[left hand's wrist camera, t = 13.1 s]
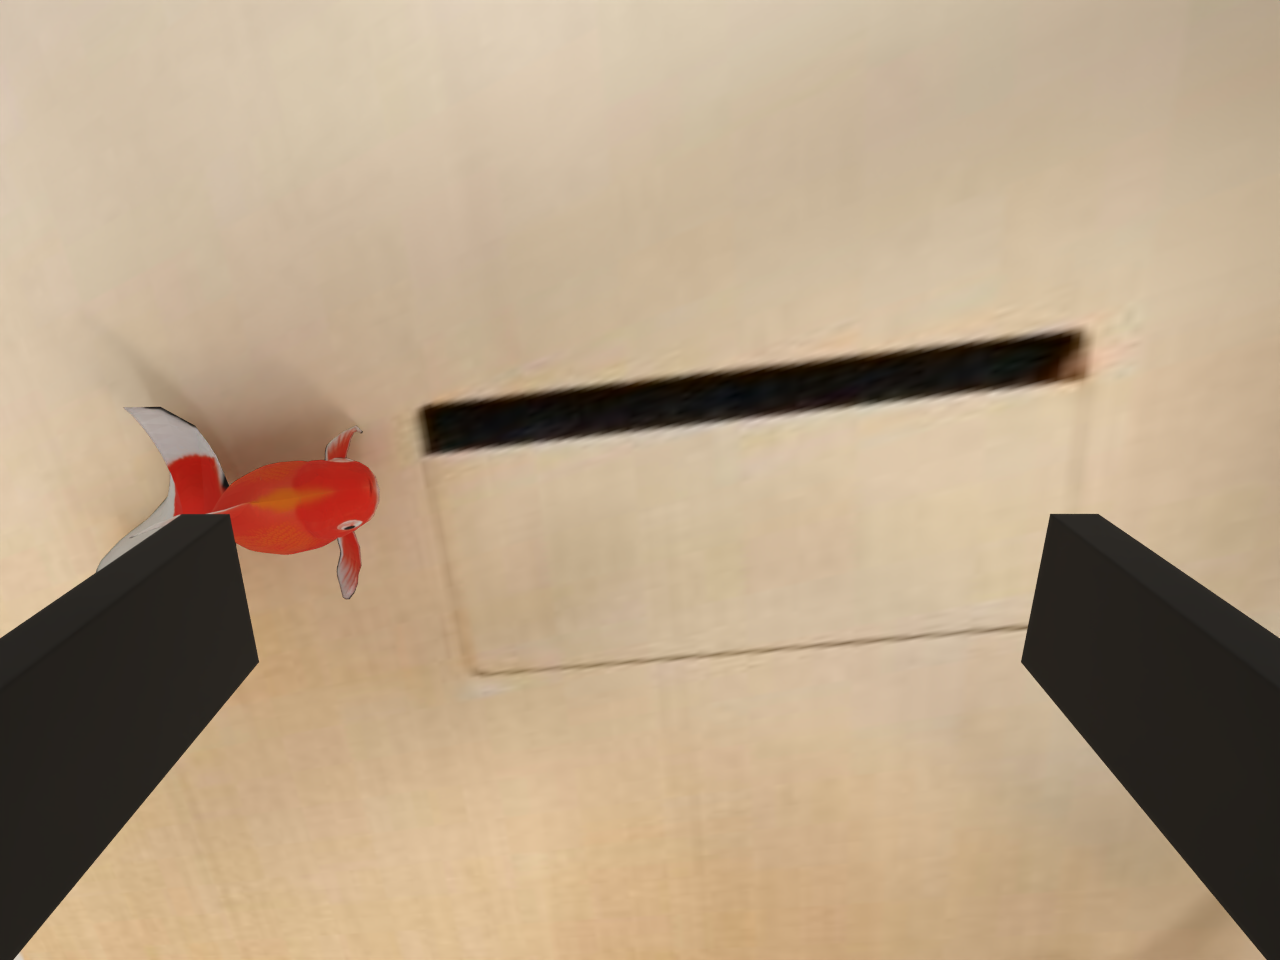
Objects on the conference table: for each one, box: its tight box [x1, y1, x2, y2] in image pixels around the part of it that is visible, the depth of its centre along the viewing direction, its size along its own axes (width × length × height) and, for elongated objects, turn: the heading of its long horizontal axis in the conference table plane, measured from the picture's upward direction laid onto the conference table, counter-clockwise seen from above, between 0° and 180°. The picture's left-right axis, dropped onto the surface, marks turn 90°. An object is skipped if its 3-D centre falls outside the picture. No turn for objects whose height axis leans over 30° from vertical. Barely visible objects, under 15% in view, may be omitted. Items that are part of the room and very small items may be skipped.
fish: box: [96, 407, 380, 599], centre depth 35 cm, size 11×16×10 cm
